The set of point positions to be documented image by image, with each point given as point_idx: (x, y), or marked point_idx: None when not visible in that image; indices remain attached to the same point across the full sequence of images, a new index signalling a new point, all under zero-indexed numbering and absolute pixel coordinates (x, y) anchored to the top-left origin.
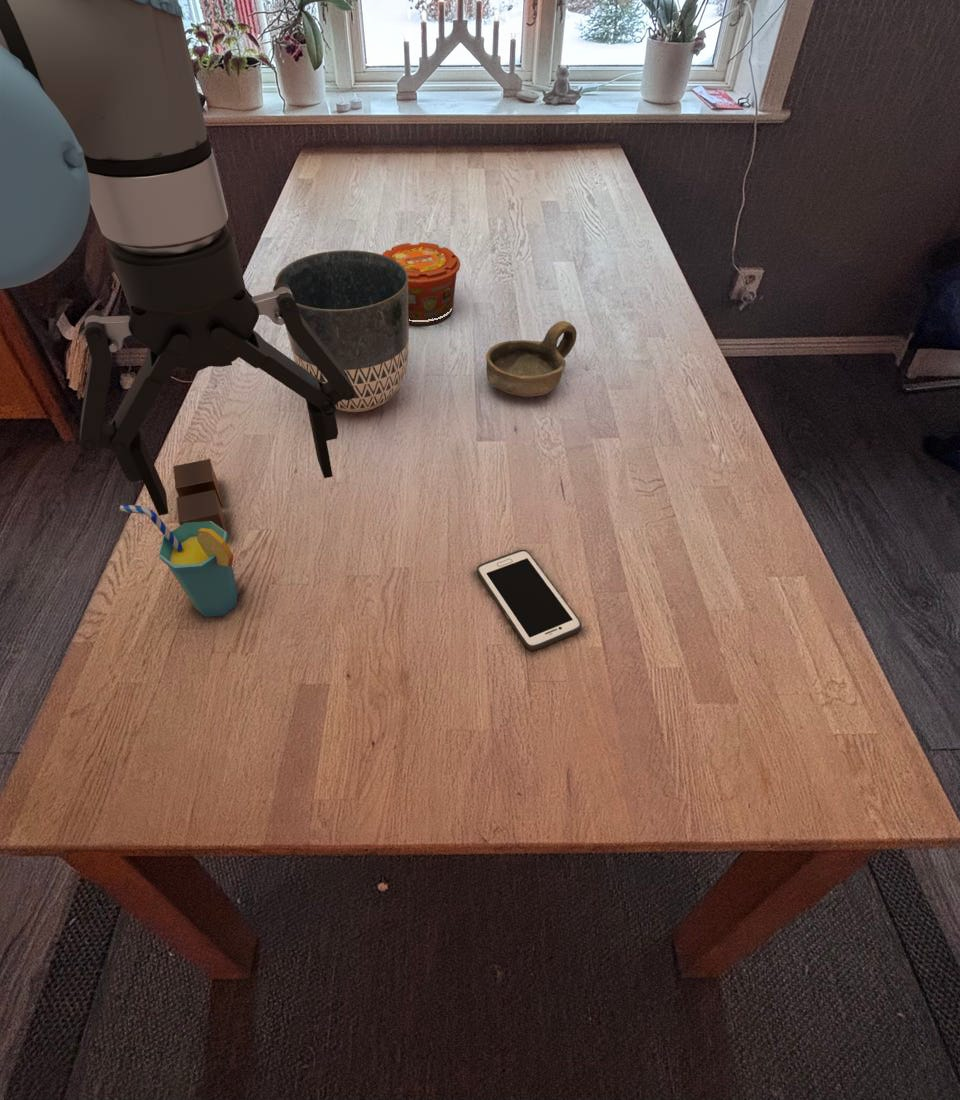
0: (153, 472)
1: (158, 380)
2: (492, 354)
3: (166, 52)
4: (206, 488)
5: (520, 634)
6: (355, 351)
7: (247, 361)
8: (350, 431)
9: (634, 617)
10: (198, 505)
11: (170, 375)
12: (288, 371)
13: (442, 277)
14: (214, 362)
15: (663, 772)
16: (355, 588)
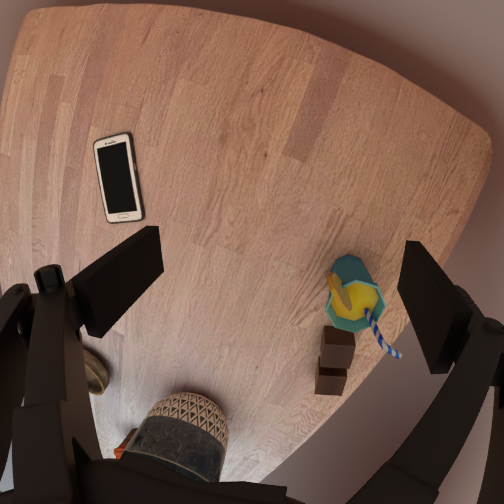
0: (422, 295)
1: (410, 479)
2: (101, 389)
3: None
4: (325, 371)
5: (130, 145)
6: (174, 430)
7: (56, 428)
8: (209, 383)
9: (68, 144)
10: (336, 356)
11: (360, 495)
12: (31, 360)
13: (123, 449)
14: (168, 485)
15: (98, 36)
16: (239, 239)
